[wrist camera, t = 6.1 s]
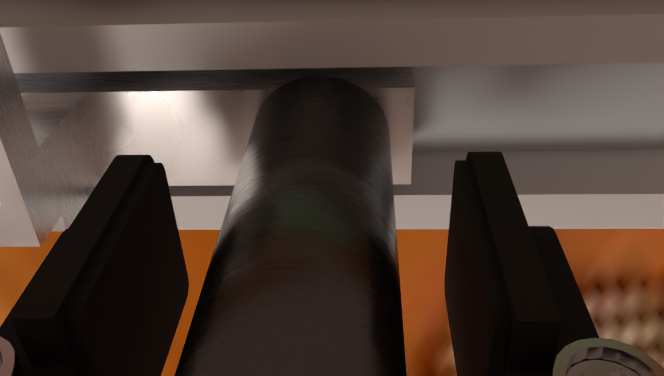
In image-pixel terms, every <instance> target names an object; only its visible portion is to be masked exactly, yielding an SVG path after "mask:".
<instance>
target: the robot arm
mask: <svg viewBox="0 0 664 376" xmlns="http://www.w3.org/2000/svg"><path fill="white" fill-rule="evenodd" d="M188 288H189V281H188V274H187V270H186V265H185V260H184V256H183V251H182V246H181V242H180V237H179V232H178V227H177V223H176V218H175V213H174V209H173V204H172V199H171V195H170V190H169V185H168V180H167V176H166V171H165V168H164V165H163V164H162V163H155V162H154V160H153V158H152V156H150V155H117V156H116V157H115V158H114V159H113V160H112V162H111V164H110V165H109V167H108V168H107V170H106V171H105V173H104V174H103V176H102V177H101V179H100V181H99V182H98V184H97V185H96V187H95V188H94V190H93V191H92V193H91V194H90V196H89V198H88V199H87V201H86V202H85V204H84V205H83V207H82V208H81V210H80V211H79V213H78V214H77V216H76V218H75V219H74V221H73V222H72V224H71V225H70V227H69V228H68V229H66V230H65V231H64V232H63V233H62V234H61V235H60V237H59V238H58V240H57V241H56V243H55V244H54V246H53V248H52V249H51V251H50V252H49V254H48V255H47V257H46V258H45V260H44V261H43V263H42V264H41V266H40V267H39V269H38V270H37V272H36V273H35V275H34V276H33V278H32V280H31V281H30V283H29V284H28V286H27V287H26V289H25V290H24V292H23V293H22V295H21V296H20V298H19V299H18V301H17V302H16V304H15V305H14V307H13V309H12V310H11V312H10V313H9V315H8V316H7V318H6V319H5V321H4V322H3V324H2V325H1V327H0V376H161V374H162V371H163V368H164V365H165V362H166V359H167V356H168V353H169V350H170V347H171V344H172V341H173V338H174V335H175V332H176V329H177V326H178V323H179V320H180V317H181V314H182V311H183V308H184V305H185V302H186V299H187V296H188ZM445 299H446V306H447V312H448V319H449V325H450V332H451V338H452V345H453V351H454V358H455V364H456V371H457V376H664V368H663V367H662V366H661V365H660V364H659V363H658V362H656V361H655V360H654V359H653V358H651V357H650V356H649V355H648V354H646V353H644V352H642V351H641V350H639V349H637V348H635V347H633V346H631V345H628V344H625V343H622V342H619V341H615V340H612V339H602V338H599V336H598V334H597V331H596V329H595V326H594V324H593V322H592V319H591V317H590V314H589V312H588V310H587V307H586V305H585V302H584V300H583V298H582V295H581V293H580V290H579V288H578V285H577V283H576V281H575V278H574V276H573V273H572V271H571V269H570V266H569V264H568V261H567V259H566V257H565V254H564V252H563V249H562V247H561V245H560V242H559V240H558V237H557V235H556V233H555V231H554V229H553V228H552V227H550V226H528V223H527V220H526V217H525V215H524V212H523V209H522V206H521V204H520V201H519V198H518V195H517V192H516V190H515V187H514V184H513V181H512V179H511V176H510V173H509V170H508V168H507V165H506V162H505V159H504V157H503V154H502V152H468V153H467V156H466V160H456V161H455V164H454V174H453V186H452V198H451V210H450V222H449V234H448V246H447V257H446V269H445Z"/></svg>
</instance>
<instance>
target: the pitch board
mask: <svg viewBox="0 0 664 376" xmlns="http://www.w3.org/2000/svg"><path fill="white" fill-rule="evenodd" d="M0 33H1V36H2V39H3V42H4V45H5V48H6V51H7V54H8V57H9V60H10V63H11V66H12V69H13V72H14V73H51V72H112V71H174V70H235V69H296V68H358V67H412V73H413V79H414V86H415V95H414V120H413V145H412V169H411V184H393V191H394V205H395V220H396V229H449V222H450V210H451V198H452V186H453V174H454V164H455V161H456V160H466V156H467V153H468V152H502V154H503V157H504V159H505V162H506V165H507V168H508V170H509V173H510V176H511V179H512V181H513V184H514V187H515V190H516V192H517V195H518V198H519V201H520V204H521V206H522V209H523V212H524V215H525V217H526V220H527V223H528V226H550V227H552V228H553V229H664V0H0ZM233 188H234V185H222V186H169V190H170V195H171V199H172V204H173V209H174V213H175V218H176V223H177V227H178V230H221V227H222V223H223V220H224V217H225V214H226V211H227V208H228V204H229V201H230V198H231V195H232V192H233Z"/></svg>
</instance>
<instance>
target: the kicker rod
mask: <svg viewBox="0 0 664 376" xmlns="http://www.w3.org/2000/svg"><path fill="white" fill-rule="evenodd" d="M414 95H415V86H414V79H413V73H412V67H358V68H296V69H235V70H174V71H112V72H51V73H14V72H13V69H12V66H11V63H10V60H9V57H8V54H7V51H6V48H5V45H4V42H3V39H2V36H1V33H0V247H40V246H41V245H42V244H43V242H44V241H45V239H46V238H47V236H48V235H49V233H50V232H51V231H65V230H66V229H68V228H69V227H70V225H71V224H72V222H73V221H74V219H75V218H76V216H77V214H78V213H79V211H80V210H81V208H82V207H83V205H84V204H85V202H86V201H87V199H88V198H89V196H90V194H91V193H92V191H93V190H94V188H95V187H96V185H97V184H98V182H99V181H100V179H101V177H102V176H103V174H104V173H105V171H106V170H107V168H108V167H109V165H110V164H111V162H112V160H113V159H114V158H115V157H116V156H117V155H150V156H152V158H153V160H154V162H155V163H162V164H163V165H164V168H165V171H166V176H167V180H168V185H169V186H222V185H234V188H233V192H232V195H231V198H230V201H229V204H228V208H227V211H226V214H225V217H224V220H223V223H222V227H221V230H220V233H219V236H218V239H217V243H216V246H215V249H214V252H213V255H212V259H211V262H210V265H209V268H208V271H207V274H206V278H205V281H204V284H203V287H202V290H201V294H200V297H199V300H198V303H197V306H196V309H195V313H194V316H193V319H192V322H191V325H190V329H189V332H188V335H187V338H186V341H185V344H184V348H183V351H182V354H181V357H180V360H179V364H178V367H177V370H176V373H175V376H406V363H405V348H404V334H403V320H402V305H401V291H400V277H399V262H398V248H397V234H396V220H395V205H394V191H393V184H411V169H412V145H413V120H414Z"/></svg>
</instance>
